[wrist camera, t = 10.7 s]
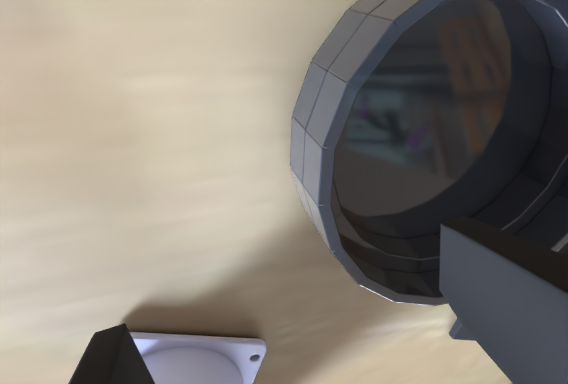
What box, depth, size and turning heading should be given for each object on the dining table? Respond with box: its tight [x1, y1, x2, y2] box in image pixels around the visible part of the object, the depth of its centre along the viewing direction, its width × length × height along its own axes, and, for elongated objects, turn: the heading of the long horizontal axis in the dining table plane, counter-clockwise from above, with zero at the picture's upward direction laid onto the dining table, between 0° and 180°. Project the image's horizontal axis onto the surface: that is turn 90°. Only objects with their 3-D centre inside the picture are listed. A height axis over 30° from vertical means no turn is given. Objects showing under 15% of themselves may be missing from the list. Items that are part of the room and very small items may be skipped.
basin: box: [290, 0, 568, 306], centre depth 18 cm, size 14×14×4 cm
